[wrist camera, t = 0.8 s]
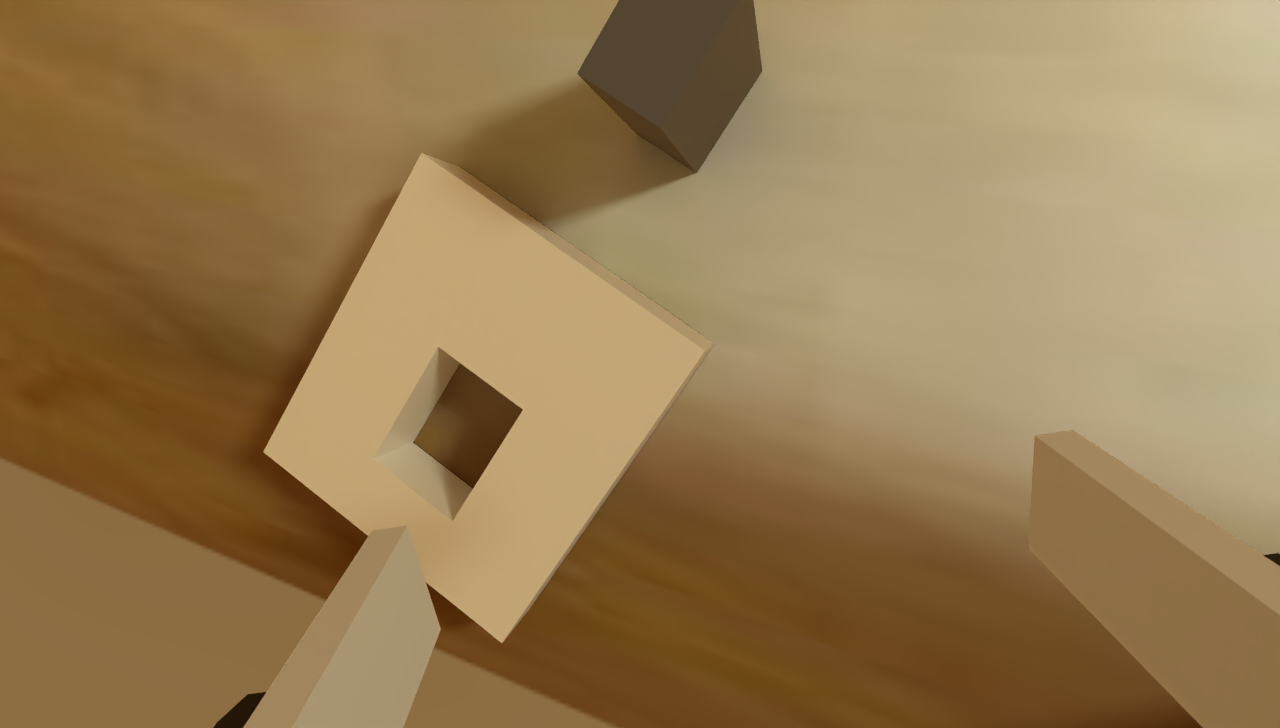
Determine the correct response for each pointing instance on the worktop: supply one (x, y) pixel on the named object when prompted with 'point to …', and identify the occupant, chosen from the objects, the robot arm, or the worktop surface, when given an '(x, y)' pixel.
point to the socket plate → (504, 358)
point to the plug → (676, 70)
